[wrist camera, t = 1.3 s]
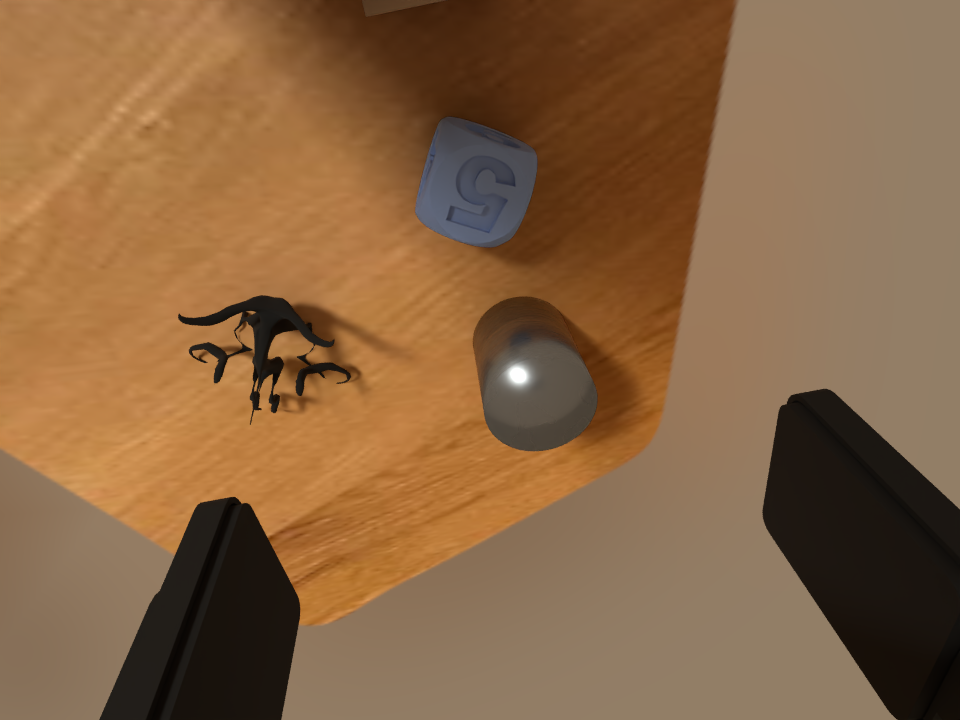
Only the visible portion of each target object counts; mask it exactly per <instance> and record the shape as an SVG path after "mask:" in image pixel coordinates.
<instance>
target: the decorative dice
mask: <svg viewBox="0 0 960 720" xmlns="http://www.w3.org/2000/svg"><path fill="white" fill-rule="evenodd" d="M536 174H537V155H536V153H535V150H534V149H533V148H532V147H530V146H529V145H527V144H525V143H524V142H522V141H520V140H518V139H516V138H514V137H511V136H509V135H507V134H505V133H502V132H500V131H497V130H495V129H492V128H489V127H487V126H484V125H481V124H478V123H475V122H471V121H468V120H464V119H460V118H456V117H445V118H443V119H442V120H440V122H439V124H438V126H437V128H436V131H435V134H434V137H433V140H432V143H431V146H430V149H429V153H428V156H427V159H426V163H425V167H424V170H423V174H422V178H421V182H420V187H419V191H418V196H417V201H416V208H415V213H416V215H417V217H418V218H419V220H420V221H421V222H422V223H423V224H424V225H426V226H427V227H429V228H430V229H432V230H433V231H435V232H437V233H439V234H441V235H443V236H446V237H448V238H450V239H453V240H456V241H459V242H462V243H465V244H469V245H473V246H479V247H496V246H499V245H501V244H503V243H505V242H507V241H509V240H510V239H511V238H512V237H513V236H514V234H515V233H516V231H517V230H518V228H519V226H520V224H521V222H522V220H523V218H524V215H525V213H526V210H527V208H528V205H529V202H530V199H531V196H532V192H533V188H534V184H535V179H536Z"/></svg>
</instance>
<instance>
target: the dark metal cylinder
mask: <svg viewBox="0 0 960 720" xmlns="http://www.w3.org/2000/svg"><path fill="white" fill-rule="evenodd" d="M473 348H474V354H475V360H476V366H477V373H478V379H479V385H480V391H481V397H482V403H483V409H484V415H485V420H486V423H487V425H488V427H489V429H490V431H491V432H492V434H493V435H494V436H495V437H496V438H497V439H498V440H500V441H501V442H502V443H504V444H506V445H508V446H510V447H512V448H515V449H519V450H524V451H544V450H549V449H553V448H556V447H559V446H562V445H564V444H566V443H568V442H570V441H571V440H573V439H574V438H576V437H577V436H578V435H580V434H581V433H582V432H583V431H584V430H585V428H586V427H587V426H588V425H589V423H590V422H591V420H592V418H593V416H594V414H595V411H596V407H597V391H596V387H595V384H594V382H593V380H592V378H591V376H590V374H589V372H588V370H587V367H586V365H585V363H584V361H583V359H582V357H581V355H580V353H579V350H578V348H577V346H576V344H575V342H574V340H573V338H572V336H571V333H570V331H569V329H568V327H567V325H566V323H565V321H564V319H563V317H562V315H561V314H560V312H559V311H558V310H557V309H556V308H555V307H554V306H552V305H551V304H550V303H548V302H546V301H544V300H541V299H538V298H534V297H515V298H510V299H507V300H504V301H502V302H500V303H498V304H496V305H494V306H493V307H492V308H490V309H489V310H488V311H487V312H486V313H485V314H484V315H483V316H482V317H481V319H480V320H479V322H478V324H477V326H476V328H475V331H474V336H473Z"/></svg>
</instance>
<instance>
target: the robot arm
mask: <svg viewBox="0 0 960 720" xmlns="http://www.w3.org/2000/svg"><path fill="white" fill-rule="evenodd" d="M763 519H764V523H765V526H766V528H767V530H768V531H769V533H770V535H771V536H772V538H773V539H774V540H775V542H776V544H777V545H778V547H779V548H780V550H781V551H782V553H783V554H784V556H785V557H786V559H787V560H788V562H789V563H790V565H791V566H792V568H793V569H794V571H795V572H796V573H797V575H798V576H799V578H800V579H801V581H802V583H803V584H804V585H805V587H806V588H807V590H808V591H809V593H810V594H811V596H812V597H813V599H814V600H815V602H816V603H817V605H818V606H819V608H820V609H821V611H822V612H823V614H824V615H825V617H826V618H827V620H828V621H829V623H830V624H831V626H832V627H833V629H834V630H835V631H836V633H837V635H838V636H839V638H840V639H841V641H842V642H843V644H844V645H845V646H846V648H847V650H848V651H849V652H850V654H851V656H852V657H853V658H854V660H855V662H856V663H857V665H858V666H859V668H860V669H861V671H862V672H863V673H864V675H865V677H866V678H867V680H868V681H869V682H870V684H871V685H872V687H873V688H874V690H875V691H876V693H877V694H878V696H879V697H880V699H881V700H882V702H883V703H884V705H885V706H886V708H887V709H888V710H889V712H890V713H891V714H892V715H893V716H894V717H895V718H896V719H897V720H960V509H959V508H958V507H957V506H955V505H954V504H953V503H952V502H951V501H950V500H949V499H948V498H947V497H946V496H945V495H944V494H942V492H940V491H939V490H938V489H937V488H936V487H935V486H934V485H933V484H932V483H931V482H930V481H929V480H927V479H926V478H925V477H924V476H923V475H922V474H921V473H920V472H919V471H918V470H917V469H916V468H915V467H914V466H913V465H911V464H910V463H909V462H908V461H907V460H906V459H905V458H904V457H903V456H902V455H901V454H900V453H899V452H897V451H896V450H895V449H894V448H893V447H892V446H891V445H890V444H889V443H888V442H887V441H885V440H884V439H883V438H882V437H881V436H880V435H879V434H878V433H877V432H876V431H875V430H874V429H873V428H872V427H871V426H870V425H868V424H867V423H866V422H865V421H864V420H863V419H862V418H861V417H860V416H859V415H858V414H856V413H855V412H854V411H853V410H852V409H851V408H850V407H849V406H848V405H847V404H846V403H845V402H844V401H842V399H840V398H839V397H838V396H837V395H836V394H835V393H834V392H832V391H831V390H828V389H821V390H816V391H810V392H804V393H799V394H795V395H791V396H790V397H789V399H788V401H787V404H786V405H782V406H781V407H780V410H779V414H778V419H777V426H776V432H775V438H774V444H773V450H772V456H771V462H770V468H769V475H768V480H767V486H766V492H765V499H764V505H763ZM299 619H300V603H299V598H298V596H297V594H296V592H295V590H294V588H293V586H292V584H291V582H290V580H289V578H288V576H287V574H286V572H285V571H284V569H283V567H282V565H281V563H280V561H279V559H278V557H277V555H276V553H275V551H274V549H273V548H272V546H271V544H270V542H269V540H268V538H267V536H266V534H265V532H264V530H263V528H262V526H261V525H260V523H259V521H258V519H257V517H256V515H255V513H254V511H253V509H252V507H251V506H250V505H249V504H248V503H243V504H241V502H240V501H239V500H238V499H237V498H236V497H229V498H224V499H218V500H213V501H207V502H202V503H200V504H198V505H197V507H196V508H195V510H194V512H193V515H192V517H191V519H190V522H189V524H188V526H187V529H186V531H185V533H184V536H183V538H182V540H181V543H180V545H179V547H178V550H177V552H176V554H175V557H174V559H173V561H172V564H171V566H170V568H169V571H168V573H167V575H166V578H165V580H164V582H163V585H162V587H161V589H160V591H159V592H158V593H157V594H156V595H155V596H154V598H153V600H152V601H151V603H150V605H149V607H148V609H147V611H146V614H145V616H144V619H143V621H142V623H141V625H140V628H139V630H138V632H137V634H136V637H135V639H134V642H133V644H132V646H131V648H130V651H129V653H128V655H127V658H126V660H125V662H124V664H123V667H122V669H121V671H120V674H119V676H118V678H117V680H116V683H115V685H114V688H113V690H112V692H111V694H110V697H109V699H108V701H107V703H106V706H105V708H104V710H103V713H102V715H101V717H100V720H281V718H282V712H283V707H284V701H285V696H286V691H287V685H288V679H289V674H290V668H291V663H292V658H293V652H294V647H295V641H296V636H297V630H298V625H299Z"/></svg>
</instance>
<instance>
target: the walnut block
mask: <svg viewBox="0 0 960 720" xmlns="http://www.w3.org/2000/svg"><path fill="white" fill-rule="evenodd" d="M441 1H446V0H362V3H363V7H364V11H365V15H366V17H368V16H374V15H379V14H384V13H389V12H393V11H398V10H403V9H408V8H412V7H417V6H422V5H427V4H431V3H436V2H441Z"/></svg>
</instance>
